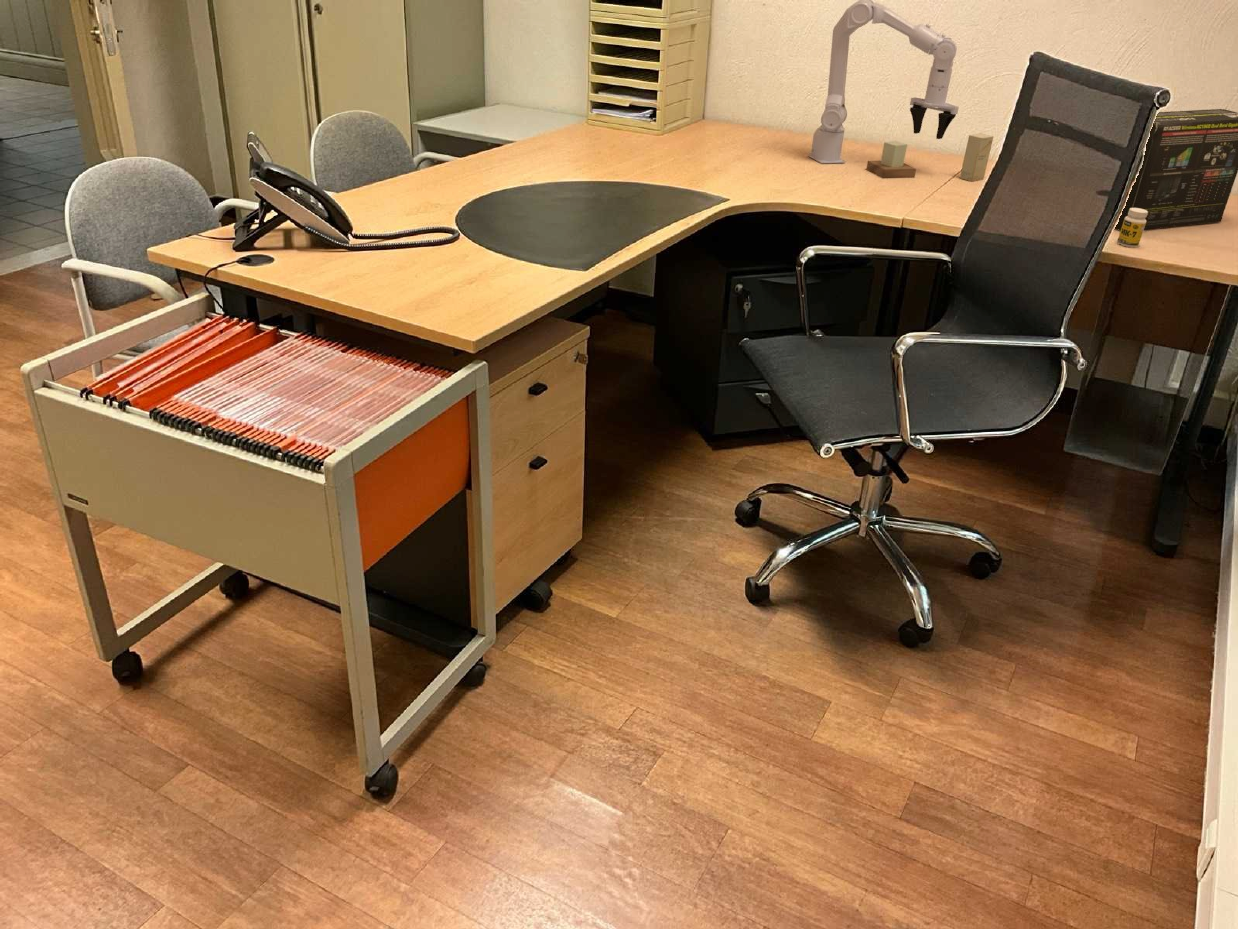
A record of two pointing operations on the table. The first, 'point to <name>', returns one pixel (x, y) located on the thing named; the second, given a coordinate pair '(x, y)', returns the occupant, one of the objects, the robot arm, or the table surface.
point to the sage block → (893, 154)
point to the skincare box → (976, 157)
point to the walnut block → (890, 170)
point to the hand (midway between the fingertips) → (927, 135)
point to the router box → (1186, 169)
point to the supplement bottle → (1132, 227)
